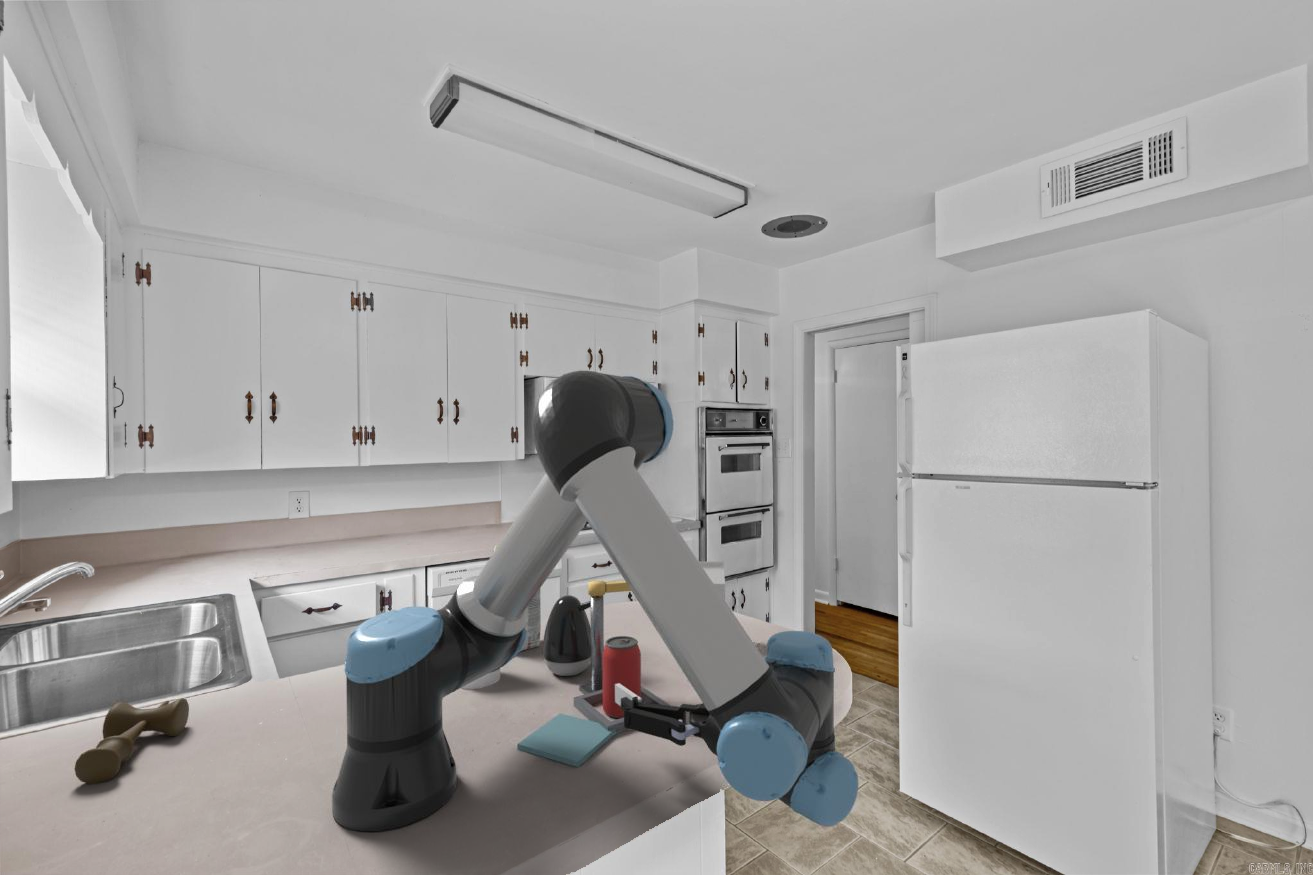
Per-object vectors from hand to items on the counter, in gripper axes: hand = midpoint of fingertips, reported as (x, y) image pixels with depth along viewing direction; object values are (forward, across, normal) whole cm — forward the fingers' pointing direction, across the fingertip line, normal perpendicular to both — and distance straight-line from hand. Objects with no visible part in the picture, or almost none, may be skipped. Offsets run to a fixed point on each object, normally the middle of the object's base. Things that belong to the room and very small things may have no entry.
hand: (654, 681), depth 95 cm
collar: (+10, 0, -8) cm, 13 cm away
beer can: (+10, 0, -9) cm, 13 cm away
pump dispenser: (+31, -1, -8) cm, 32 cm away
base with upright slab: (+37, -17, -8) cm, 42 cm away
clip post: (+19, 0, -8) cm, 21 cm away
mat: (+6, -12, -8) cm, 16 cm away
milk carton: (+26, +31, -9) cm, 41 cm away
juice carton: (+49, -4, -8) cm, 50 cm away
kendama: (+41, -68, -8) cm, 80 cm away
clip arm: (+17, +6, +8) cm, 20 cm away
